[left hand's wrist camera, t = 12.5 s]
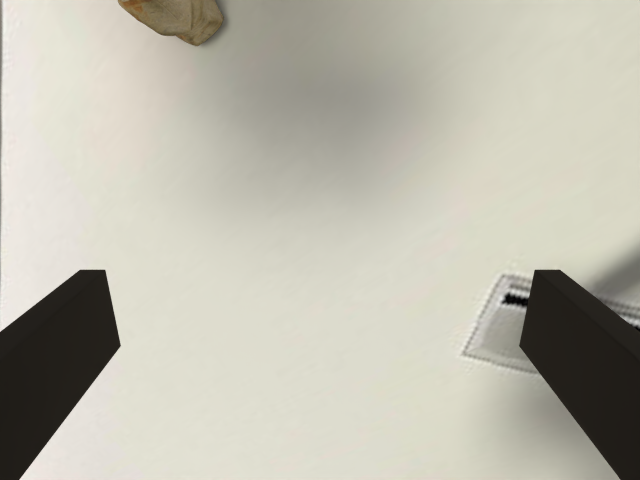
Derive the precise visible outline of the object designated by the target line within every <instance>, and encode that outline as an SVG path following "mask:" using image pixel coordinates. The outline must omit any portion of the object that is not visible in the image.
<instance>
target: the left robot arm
mask: <svg viewBox="0 0 640 480" xmlns="http://www.w3.org/2000/svg"><path fill="white" fill-rule="evenodd" d="M120 346H121V345H120V340H119V335H118V330H117V325H116V320H115V315H114V311H113V306H112V301H111V296H110V291H109V286H108V281H107V276H106V271H105V270H79V271H78V272H77V273H75V274H74V275H73V276H72V277H70V278H69V279H68V280H66V281H65V282H64V283H63V284H61V285H60V286H59V287H57V288H56V289H55V290H54V291H52V292H51V293H50V294H48V295H47V296H46V297H45V298H43V299H42V300H41V301H39V302H38V303H37V304H36V305H34V306H33V307H32V308H30V309H29V310H28V311H27V312H25V313H24V314H23V315H21V316H20V317H19V318H18V319H16V320H15V321H14V322H12V323H11V324H10V325H9V326H7V327H6V328H5V329H3V330H2V331H1V332H0V480H19V479H20V478H21V477H22V475H23V474H24V473H25V471H26V470H27V469H28V467H29V466H30V465H31V464H32V462H33V461H34V460H35V458H36V457H37V456H38V454H39V453H40V452H41V450H42V449H43V448H44V446H45V445H46V444H47V442H48V441H49V440H50V438H51V437H52V436H53V435H54V433H55V432H56V431H57V429H58V428H59V427H60V425H61V424H62V423H63V421H64V420H65V419H66V417H67V416H68V415H69V413H70V412H71V411H72V409H73V408H74V407H75V406H76V404H77V403H78V402H79V400H80V399H81V398H82V396H83V395H84V394H85V392H86V391H87V390H88V388H89V387H90V386H91V384H92V383H93V382H94V380H95V379H96V378H97V377H98V375H99V374H100V373H101V371H102V370H103V369H104V367H105V366H106V365H107V363H108V362H109V361H110V359H111V358H112V357H113V355H114V354H115V353H116V351H117V350H118V349H119V348H120ZM519 346H520V348H521V349H522V350H523V351H524V353H525V354H526V355H527V357H528V358H529V359H530V361H531V362H532V363H533V365H534V366H535V367H536V369H537V370H538V371H539V373H540V374H541V375H542V377H543V378H544V379H545V380H546V382H547V383H548V384H549V386H550V387H551V388H552V390H553V391H554V392H555V394H556V395H557V396H558V398H559V399H560V400H561V402H562V403H563V404H564V406H565V407H566V408H567V409H568V411H569V412H570V413H571V415H572V416H573V417H574V419H575V420H576V421H577V423H578V424H579V425H580V427H581V428H582V429H583V431H584V432H585V433H586V435H587V436H588V437H589V438H590V440H591V441H592V442H593V444H594V445H595V446H596V448H597V449H598V450H599V452H600V453H601V454H602V456H603V457H604V458H605V460H606V461H607V462H608V464H609V465H610V466H611V467H612V469H613V470H614V471H615V473H616V474H617V475H618V477H619V478H620V479H621V480H640V332H639V331H638V330H637V329H635V328H634V327H633V326H631V325H630V324H629V323H628V322H626V321H625V320H624V319H622V318H621V317H620V316H619V315H617V314H616V313H615V312H613V311H612V310H611V309H610V308H608V307H607V306H606V305H604V304H603V303H602V302H601V301H599V300H598V299H597V298H595V297H594V296H593V295H592V294H590V293H589V292H588V291H586V290H585V289H584V288H583V287H581V286H580V285H579V284H577V283H576V282H575V281H574V280H572V279H571V278H570V277H568V276H567V275H566V274H565V273H563V272H562V271H561V270H535V271H534V276H533V281H532V286H531V291H530V296H529V301H528V306H527V311H526V315H525V320H524V325H523V330H522V335H521V340H520V345H519Z"/></svg>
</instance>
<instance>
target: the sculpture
mask: <svg viewBox="0 0 640 480" xmlns="http://www.w3.org/2000/svg"><path fill="white" fill-rule="evenodd" d="M118 3H119V4H120V6H121V7H122V8H124V9H125V10H126V11H127V12H128V13H130V14H131V15H132V16H133V17H135V18H136V19H137V20H138V21H140V22H142V23H143V24H145V25H147V26H148V27H149V28H151V29H153V30H154V31H155V32H157V33H159V34H161V35H165V36H175V35H176V36H177V37H178V38H180V39H182V40H183V41H185V42H187V43H189V44H192V45H194V46H199V45H200V44H202V43H203V42H205V41H206V40H207V39H208V38H209V37H211V36H212V35H213V34H214V33H215V32H216V31H217V30H218V29H219V27H220V26H221V24H222V21H223V20H224V18H223V15H222V14H221V12H220V10H219V9H218V7H217V4H216V2H215V0H118Z"/></svg>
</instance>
